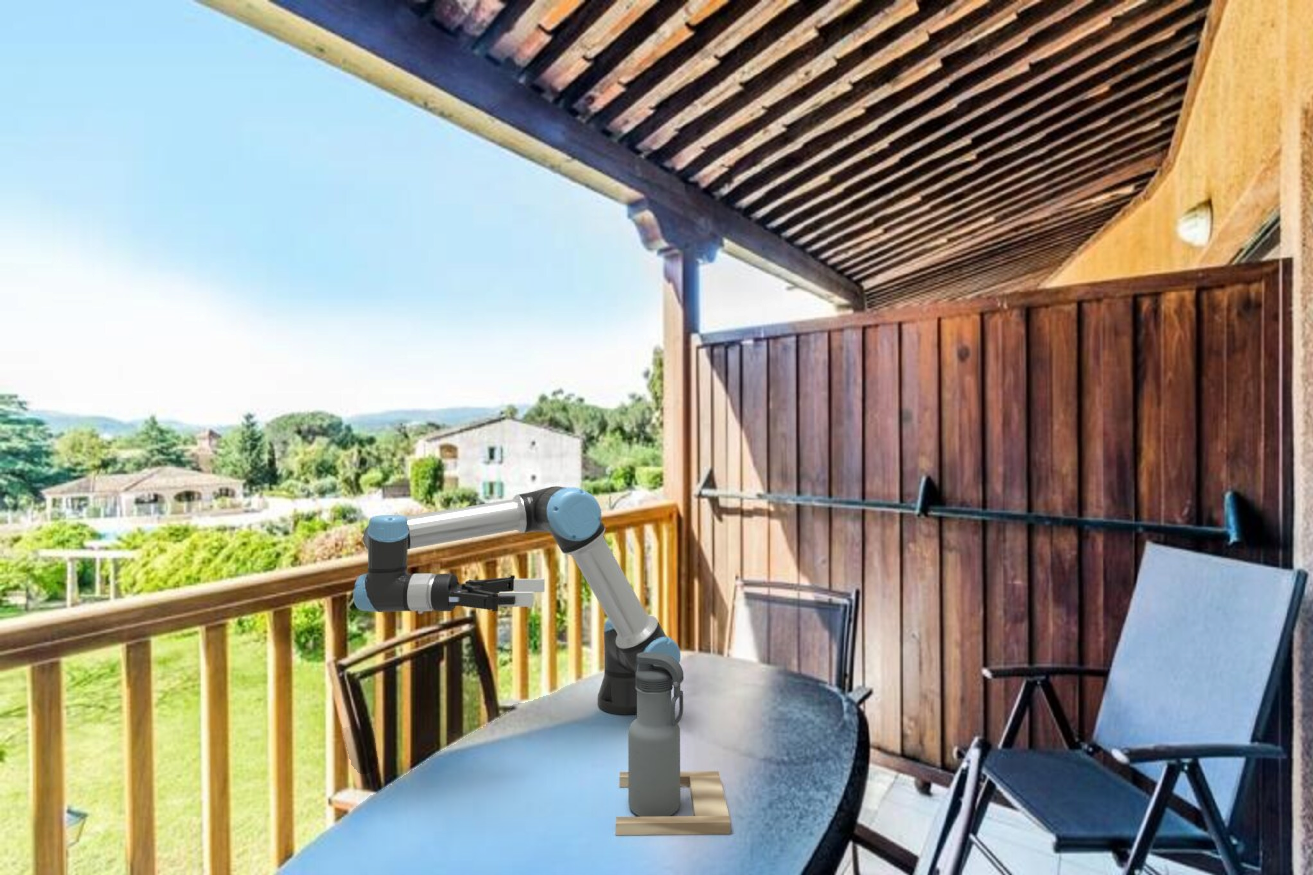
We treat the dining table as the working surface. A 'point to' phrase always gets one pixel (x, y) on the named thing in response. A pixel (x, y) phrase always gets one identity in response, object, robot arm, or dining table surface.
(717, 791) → the oak cut-out board
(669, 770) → the water bottle
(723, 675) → the dining table surface
